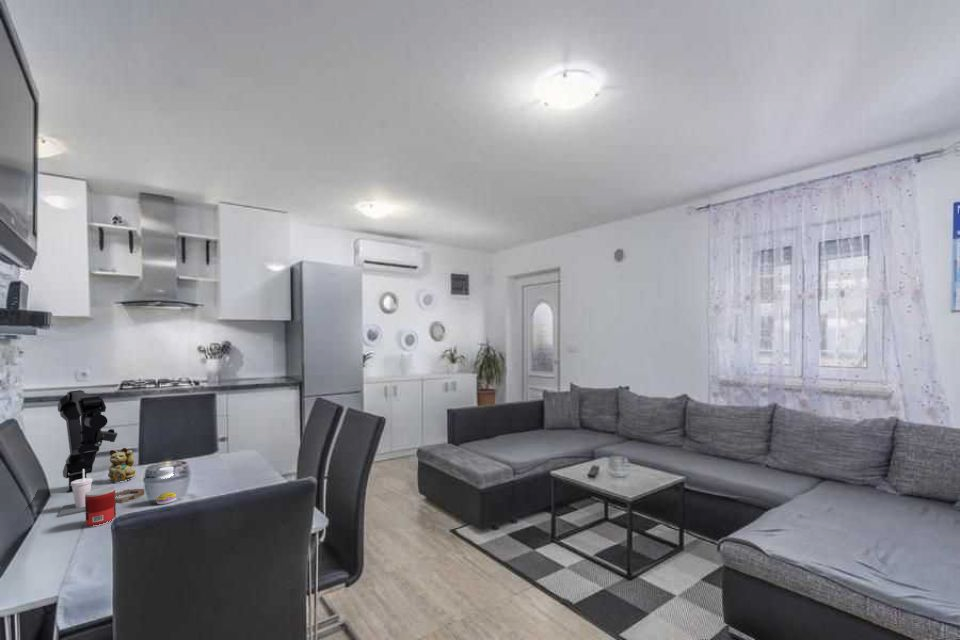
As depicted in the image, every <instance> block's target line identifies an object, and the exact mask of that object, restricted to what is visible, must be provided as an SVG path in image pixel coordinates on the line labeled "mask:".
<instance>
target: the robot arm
mask: <svg viewBox="0 0 960 640" xmlns="http://www.w3.org/2000/svg"><path fill="white" fill-rule="evenodd" d="M106 409H107V407H106V404H105V401H104V399H103V397H101V396H100V395H89V394H88V393H86V392H85V391H84V390H82V389H80V390H79V389H78V390H71V391H67V392H66V395H65V396H63V397H62V398H60V399H59V401H58V403H57V411H58V412H59V415H60V417H61V418H62V419H63V420H64V421H65V422H66V430H67V431H66V432H67V439H68V447H69V454H68V457H67V458H66V460H65V464H64V467H63V470H62V477H63V478H65V479H68V489H67V490H66V493H71V492H72V493H73V490H72V486H71V482H73V481H75V480H79V479H83V471H82V469H84V473H85V478H87V474H89V473H90V474H91V473H92V472H93V466H94V463H95V460H96V457H97V453H98V452H99V451H100V449H101V448H100V447H101V446H102V444H103V441H106V442H110V443H115V441H116V439H117V437H118V432H115V429H113V428H109V429H108V430H105V431H104V430H102V429H104V428H105V427H106V425H107V424H108V418H107V416H105V415H104V414H102V413H105V412H106Z"/></svg>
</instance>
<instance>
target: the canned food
mask: <svg viewBox="0 0 960 640" xmlns="http://www.w3.org/2000/svg"><path fill="white" fill-rule="evenodd" d="M115 493H116V488H115V486H105V487H99V488H96V489H91V491H89V492H87V493H86V494H85V511H84V512H85V525H86V526H87V527H88V526H93V525H99V524H103V523H106V522H107V521H108V522H109V521H110V520H111V521H112V519H113V518H114V517H115V518H116V516H117V510H116V509H117V508H116V505H117V504H116V500H115ZM111 521H110V523H112V522H113V521H112V522H111Z"/></svg>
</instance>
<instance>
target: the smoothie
mask: <svg viewBox="0 0 960 640" xmlns="http://www.w3.org/2000/svg"><path fill="white" fill-rule="evenodd" d="M82 471H83V479H79V480H75V481H73V482H71V486H72V490H73V491H72V495H73V499H74V503H75V505H76V508H80V507H85V494H86V493H87V492H89V491H92V482H93V481H94V478H93V477H86V478H85V473H84V469H82Z"/></svg>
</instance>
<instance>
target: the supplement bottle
mask: <svg viewBox="0 0 960 640" xmlns="http://www.w3.org/2000/svg"><path fill="white" fill-rule="evenodd" d="M174 470H175V469H174V466H165V467H161V468H159V469H158V474H159V475H158V476H159V478H161V479H165V478H166V479H167V478H170V477H171V476H173V475H174V474H173V473H174ZM177 499H178V497H177V498H176V494H174V493H165V494H164V493H163V494H161V495H160V496H159V497H158V498H157V500H156V499H155V500H156V502H157V503H156V502H155V503H156V504H157V505H166V504H171V503H173V502H175V501H176V500H177Z"/></svg>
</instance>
